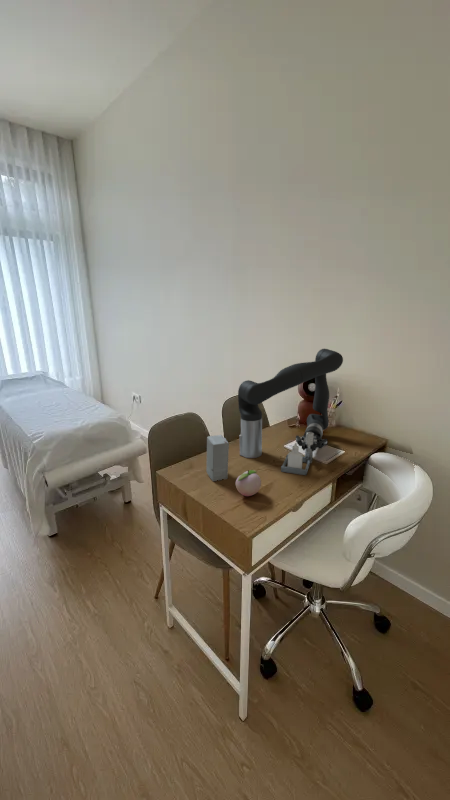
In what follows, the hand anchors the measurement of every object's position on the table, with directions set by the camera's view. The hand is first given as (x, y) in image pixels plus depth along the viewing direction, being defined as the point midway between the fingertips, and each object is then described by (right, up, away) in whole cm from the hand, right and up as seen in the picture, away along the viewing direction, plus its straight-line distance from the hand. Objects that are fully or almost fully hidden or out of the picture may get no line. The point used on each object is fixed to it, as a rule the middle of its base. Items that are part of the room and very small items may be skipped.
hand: (308, 448), depth 140 cm
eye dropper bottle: (-6, -9, -2) cm, 11 cm away
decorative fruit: (-25, -14, -19) cm, 35 cm away
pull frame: (-5, -7, +1) cm, 9 cm away
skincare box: (-37, -10, -4) cm, 38 cm away
